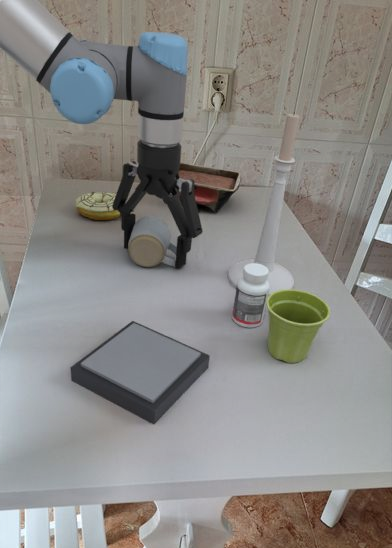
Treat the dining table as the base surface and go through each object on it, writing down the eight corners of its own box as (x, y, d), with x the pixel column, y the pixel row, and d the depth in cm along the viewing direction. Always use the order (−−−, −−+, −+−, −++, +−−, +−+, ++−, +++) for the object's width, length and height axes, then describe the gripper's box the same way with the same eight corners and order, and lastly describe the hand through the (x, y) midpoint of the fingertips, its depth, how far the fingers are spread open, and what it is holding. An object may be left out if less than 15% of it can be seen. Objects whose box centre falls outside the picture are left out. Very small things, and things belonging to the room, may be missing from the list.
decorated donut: (90, 200, 117) (89, 185, 114) (131, 209, 115) (132, 194, 112) (68, 216, 109) (67, 200, 106) (113, 226, 107) (112, 209, 104)
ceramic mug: (126, 267, 93) (126, 230, 88) (132, 248, 100) (133, 212, 95) (181, 274, 93) (185, 237, 89) (184, 254, 100) (187, 219, 95)
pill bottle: (238, 307, 86) (247, 257, 80) (267, 316, 84) (278, 266, 78) (226, 322, 82) (234, 271, 76) (256, 332, 81) (266, 281, 75)
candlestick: (232, 258, 100) (257, 98, 81) (294, 269, 99) (333, 109, 80) (223, 290, 90) (249, 115, 72) (292, 302, 89) (337, 128, 70)
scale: (69, 379, 68) (68, 363, 66) (130, 332, 78) (131, 316, 76) (154, 424, 63) (155, 408, 61) (208, 367, 72) (210, 352, 71)
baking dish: (223, 227, 116) (236, 187, 110) (154, 202, 117) (163, 160, 112) (235, 210, 128) (247, 173, 122) (172, 187, 129) (181, 149, 123)
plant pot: (276, 376, 72) (288, 329, 67) (246, 339, 79) (255, 293, 74) (327, 364, 76) (343, 318, 70) (295, 329, 82) (307, 285, 77)
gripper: (231, 153, 81) (216, 268, 95) (117, 121, 90) (118, 231, 103) (209, 164, 76) (196, 284, 90) (90, 129, 84) (94, 243, 98)
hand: (154, 256), depth 96 cm, fingers closed on ceramic mug, 11 cm apart
